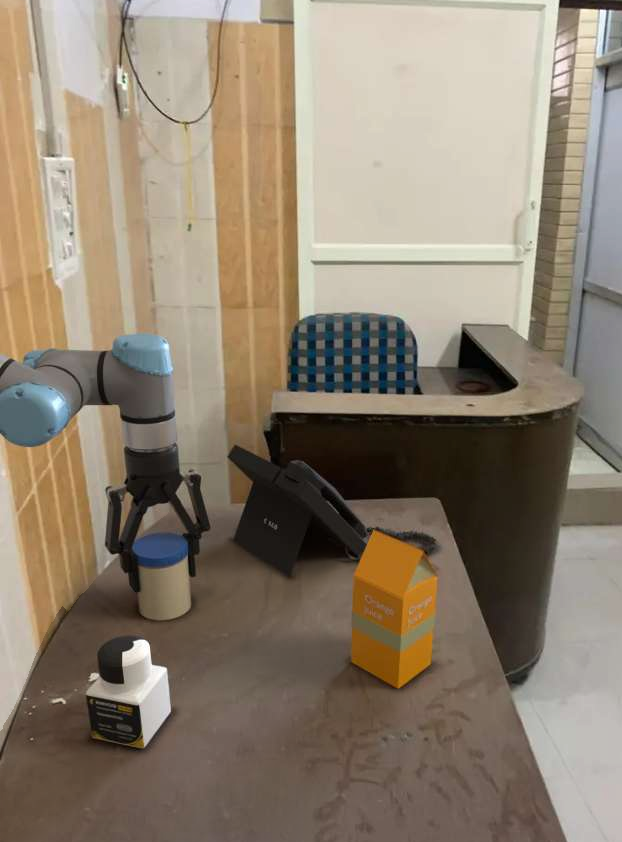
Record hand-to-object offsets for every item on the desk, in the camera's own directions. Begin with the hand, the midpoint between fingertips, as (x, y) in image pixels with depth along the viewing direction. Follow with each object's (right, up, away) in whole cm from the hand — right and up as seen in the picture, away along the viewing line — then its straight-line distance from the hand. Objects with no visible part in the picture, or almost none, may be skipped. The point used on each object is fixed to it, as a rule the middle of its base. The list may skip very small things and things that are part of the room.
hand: (163, 580), depth 118 cm
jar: (0, -4, +2) cm, 5 cm away
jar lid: (0, +5, -2) cm, 6 cm away
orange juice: (+35, -11, -9) cm, 38 cm away
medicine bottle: (+3, -15, -23) cm, 28 cm away
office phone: (+26, +4, +23) cm, 35 cm away
